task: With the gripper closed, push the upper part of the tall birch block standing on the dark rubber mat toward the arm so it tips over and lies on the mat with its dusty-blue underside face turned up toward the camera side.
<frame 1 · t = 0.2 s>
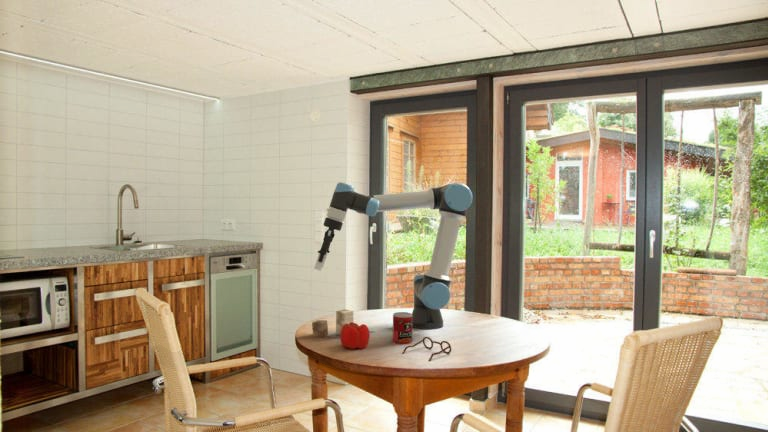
hand: (318, 268, 214), 28 cm above the table, tool tilted 20°, fingers open, 13 cm apart
tomato: (355, 348, 195), on the table
canned food: (402, 342, 205), on the table
glasses: (426, 355, 188), on the table
rubber mat: (350, 334, 215), on the table
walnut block: (320, 336, 211), on the table, tilted 6°, touching rubber mat
birch block: (344, 335, 212), resting on rubber mat
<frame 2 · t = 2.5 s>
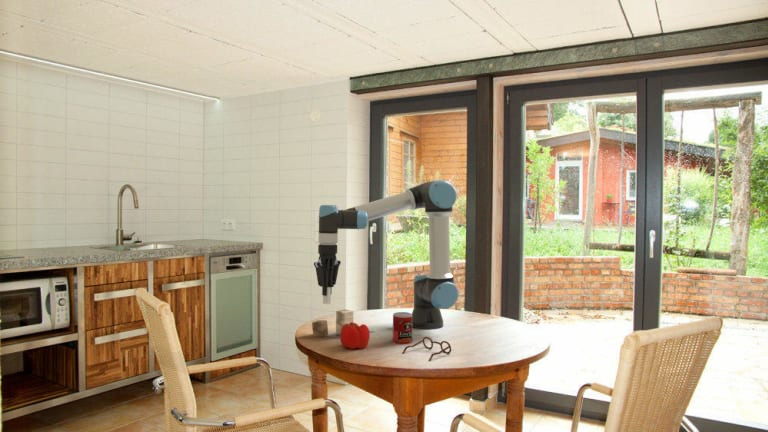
hand: (326, 303, 204), 15 cm above the table, tool pointing down, fingers closed
nothing on the table moved.
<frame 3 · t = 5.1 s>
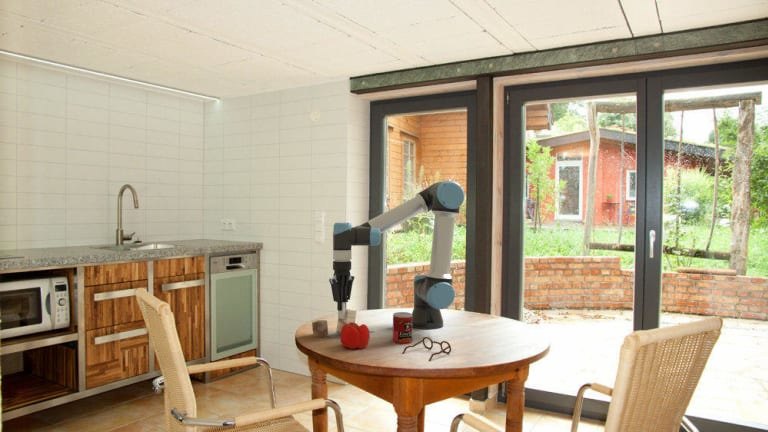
hand: (341, 318, 210), 8 cm above the table, tool pointing down, fingers closed
birch block: (344, 334, 212), point 1 cm above the table, tilted 11°, touching gripper, rubber mat
everything else where it was.
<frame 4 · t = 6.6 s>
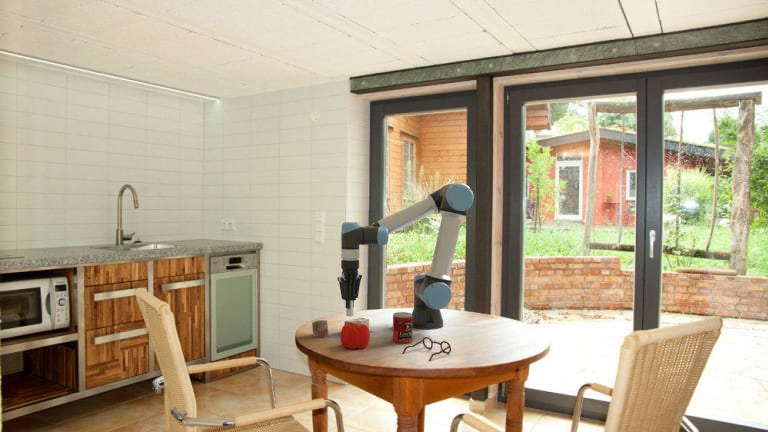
hand: (349, 315, 214), 8 cm above the table, tool pointing down, fingers closed
birch block: (348, 328, 214), point 3 cm above the table, tilted 90°, touching rubber mat
everything else where it was.
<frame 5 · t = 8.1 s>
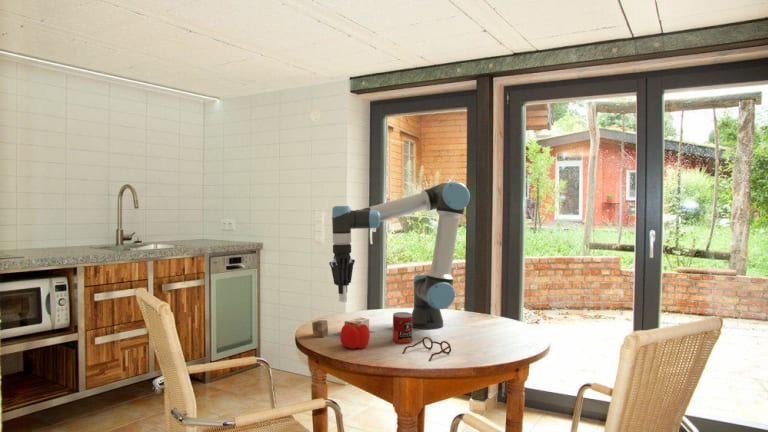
hand: (343, 301, 211), 15 cm above the table, tool pointing down, fingers closed
nothing on the table moved.
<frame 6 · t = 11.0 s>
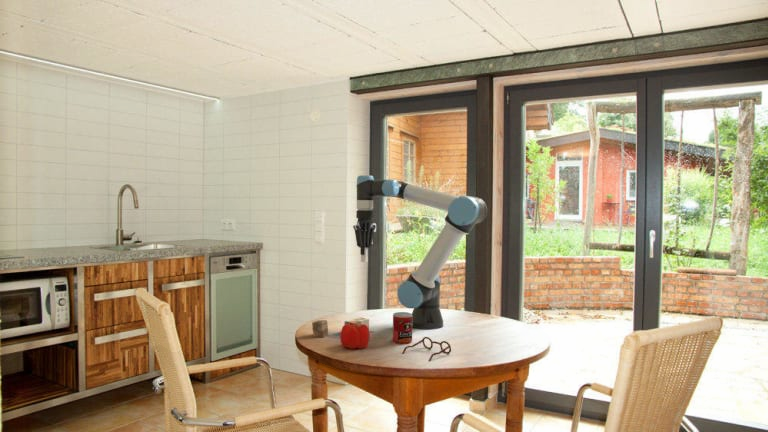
hand: (364, 262, 233), 28 cm above the table, tool pointing down, fingers closed
nothing on the table moved.
at the end: birch block tilted 90°; birch block inside the target area (2.5 cm from its centre), point 2.9 cm above the table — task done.
